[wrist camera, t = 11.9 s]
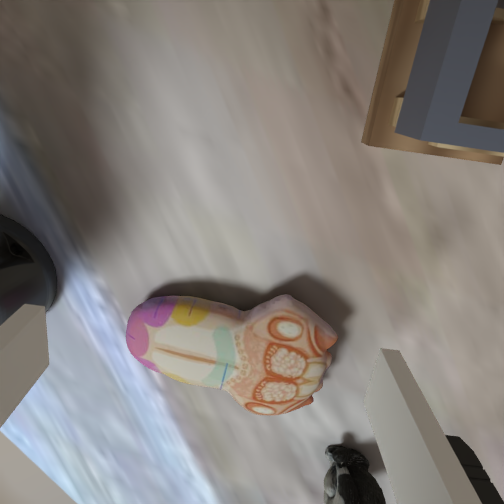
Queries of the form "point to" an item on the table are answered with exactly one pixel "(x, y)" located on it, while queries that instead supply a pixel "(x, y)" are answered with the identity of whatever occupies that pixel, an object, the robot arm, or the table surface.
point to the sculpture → (236, 348)
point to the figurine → (350, 479)
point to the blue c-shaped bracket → (448, 75)
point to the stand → (397, 75)
